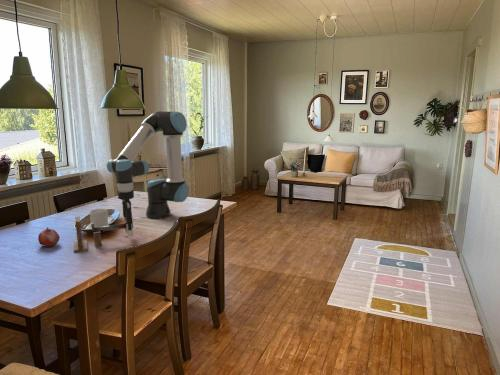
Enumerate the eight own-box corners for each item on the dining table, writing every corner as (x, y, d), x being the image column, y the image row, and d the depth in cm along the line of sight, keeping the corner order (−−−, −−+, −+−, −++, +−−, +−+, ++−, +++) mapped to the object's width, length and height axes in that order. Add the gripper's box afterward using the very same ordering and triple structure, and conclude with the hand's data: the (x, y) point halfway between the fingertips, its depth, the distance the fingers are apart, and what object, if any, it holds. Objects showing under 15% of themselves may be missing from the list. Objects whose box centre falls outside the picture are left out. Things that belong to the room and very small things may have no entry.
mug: (102, 233, 201) (100, 213, 198) (88, 232, 203) (86, 212, 200) (114, 226, 212) (113, 207, 210) (100, 225, 214) (99, 206, 212)
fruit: (44, 242, 187) (41, 223, 185) (63, 242, 188) (61, 223, 186) (34, 249, 179) (32, 229, 176) (55, 248, 179) (52, 229, 177)
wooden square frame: (86, 242, 188) (84, 215, 184) (87, 250, 177) (84, 221, 174) (73, 244, 185) (70, 216, 182) (73, 252, 174) (70, 223, 171)
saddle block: (100, 242, 187) (99, 230, 186) (101, 246, 183) (100, 233, 181) (94, 243, 186) (93, 231, 185) (95, 246, 182) (94, 234, 180)
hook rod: (131, 229, 193) (131, 217, 192) (133, 232, 188) (132, 220, 186) (92, 234, 185) (90, 221, 184) (92, 238, 180) (91, 225, 178)
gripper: (115, 186, 193) (118, 227, 198) (120, 196, 173) (123, 240, 178) (130, 185, 196) (132, 225, 201) (136, 194, 177) (139, 238, 181)
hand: (128, 232), depth 190 cm, fingers open, 10 cm apart
